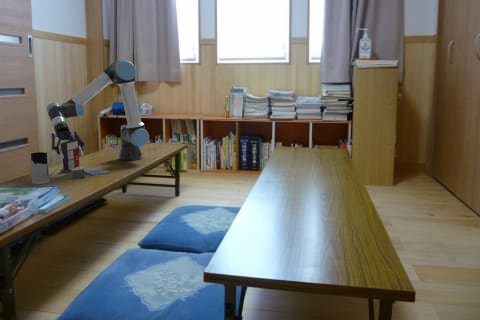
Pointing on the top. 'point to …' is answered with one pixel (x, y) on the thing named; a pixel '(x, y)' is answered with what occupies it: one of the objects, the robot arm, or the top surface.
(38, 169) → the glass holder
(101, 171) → the rubber mat
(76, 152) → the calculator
